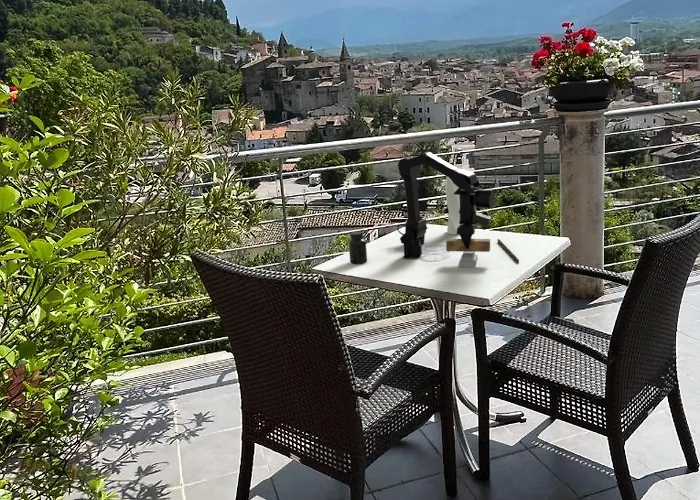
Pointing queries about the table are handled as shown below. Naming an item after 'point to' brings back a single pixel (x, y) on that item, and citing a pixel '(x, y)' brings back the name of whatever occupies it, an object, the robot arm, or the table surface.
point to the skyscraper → (452, 207)
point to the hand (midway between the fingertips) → (468, 247)
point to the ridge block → (468, 260)
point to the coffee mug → (420, 240)
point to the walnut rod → (475, 246)
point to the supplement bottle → (357, 248)
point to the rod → (508, 251)
